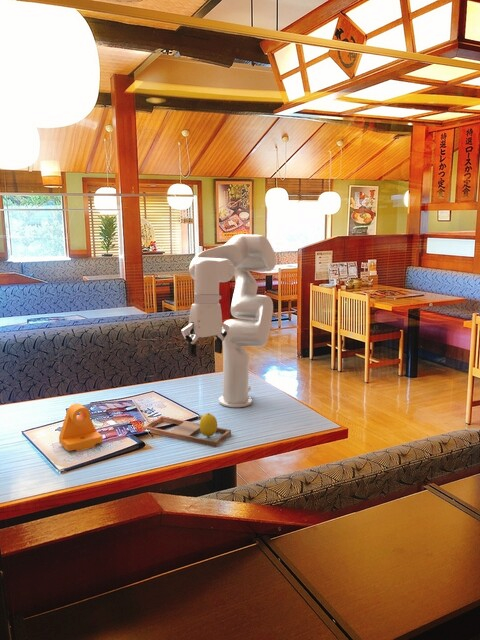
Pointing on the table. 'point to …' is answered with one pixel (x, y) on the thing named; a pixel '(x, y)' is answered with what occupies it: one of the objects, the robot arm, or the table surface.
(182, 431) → the wooden frame
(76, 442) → the bracket
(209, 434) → the lemon
